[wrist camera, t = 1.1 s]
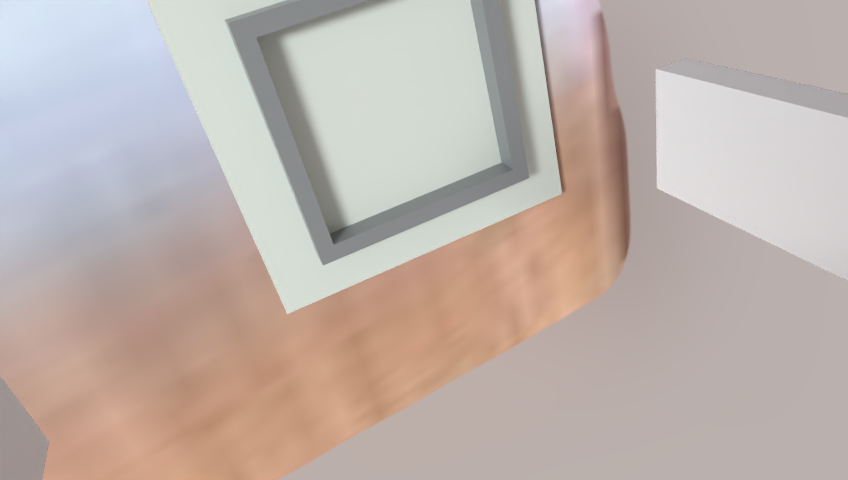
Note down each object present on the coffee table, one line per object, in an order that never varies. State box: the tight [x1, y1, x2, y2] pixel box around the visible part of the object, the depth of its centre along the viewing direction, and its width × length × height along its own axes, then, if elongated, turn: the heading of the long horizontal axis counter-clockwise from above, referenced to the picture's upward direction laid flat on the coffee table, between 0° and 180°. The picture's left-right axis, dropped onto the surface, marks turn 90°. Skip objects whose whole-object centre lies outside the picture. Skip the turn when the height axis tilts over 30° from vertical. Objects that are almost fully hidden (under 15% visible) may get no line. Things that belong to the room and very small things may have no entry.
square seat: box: [146, 0, 562, 314], centre depth 35 cm, size 20×20×2 cm
